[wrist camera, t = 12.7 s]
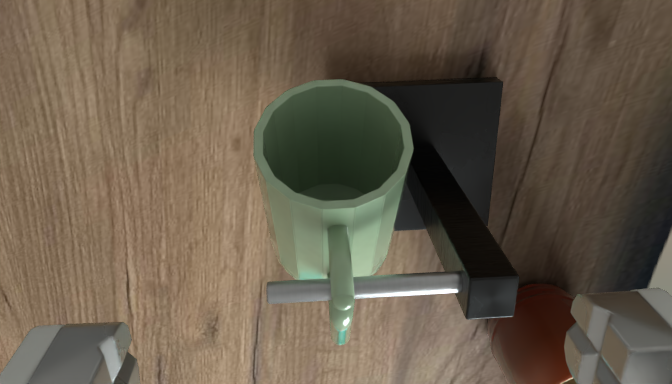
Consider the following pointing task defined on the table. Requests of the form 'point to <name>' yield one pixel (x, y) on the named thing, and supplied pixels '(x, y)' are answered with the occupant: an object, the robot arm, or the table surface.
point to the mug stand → (441, 200)
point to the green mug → (332, 184)
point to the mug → (534, 336)
